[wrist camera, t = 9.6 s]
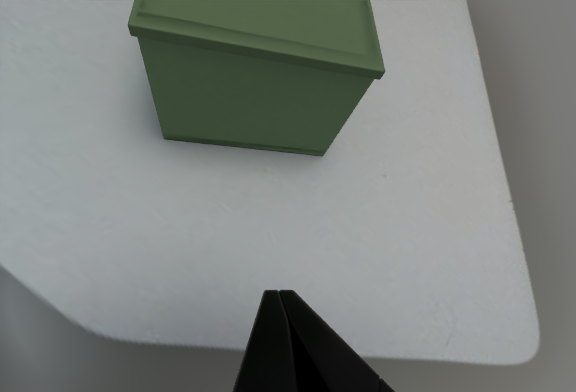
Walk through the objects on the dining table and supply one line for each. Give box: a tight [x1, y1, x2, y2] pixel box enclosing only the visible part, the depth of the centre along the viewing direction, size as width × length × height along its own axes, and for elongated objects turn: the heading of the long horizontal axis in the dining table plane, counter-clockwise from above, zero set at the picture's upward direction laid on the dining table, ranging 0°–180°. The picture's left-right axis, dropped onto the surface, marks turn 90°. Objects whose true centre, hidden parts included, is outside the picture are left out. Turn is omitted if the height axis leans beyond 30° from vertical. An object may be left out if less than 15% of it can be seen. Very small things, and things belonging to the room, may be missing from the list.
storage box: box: [128, 0, 385, 156], centre depth 21 cm, size 16×12×9 cm
